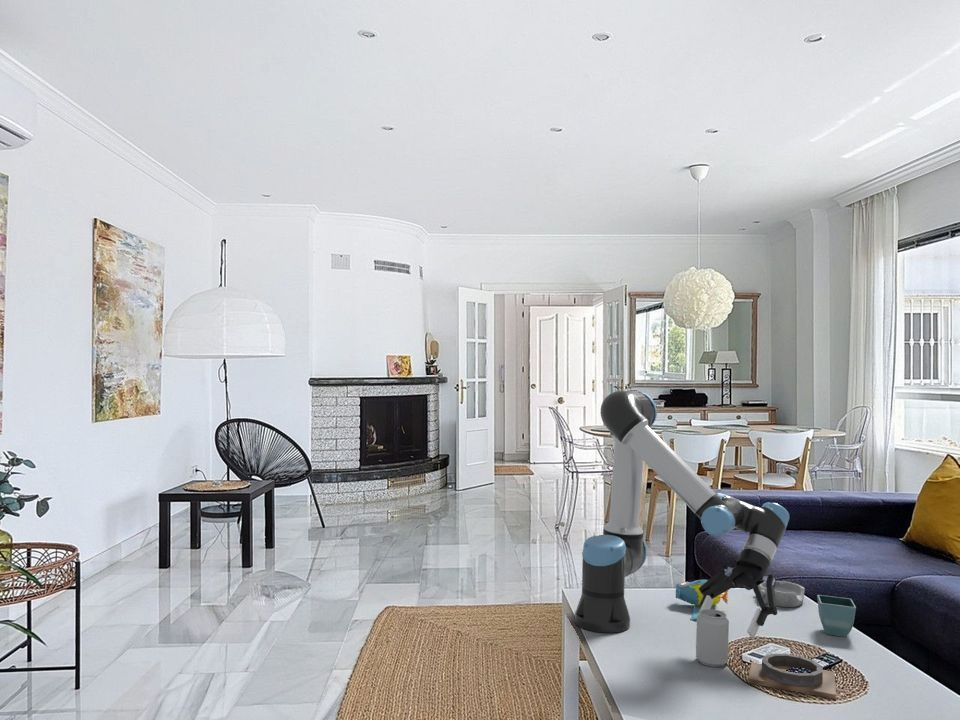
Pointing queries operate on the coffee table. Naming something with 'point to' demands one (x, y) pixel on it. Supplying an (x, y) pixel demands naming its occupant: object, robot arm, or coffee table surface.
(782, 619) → the coffee table surface
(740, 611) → the coffee table surface
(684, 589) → the blue yellow plastic figure
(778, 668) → the can holder
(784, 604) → the dish
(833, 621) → the flower pot
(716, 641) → the can
